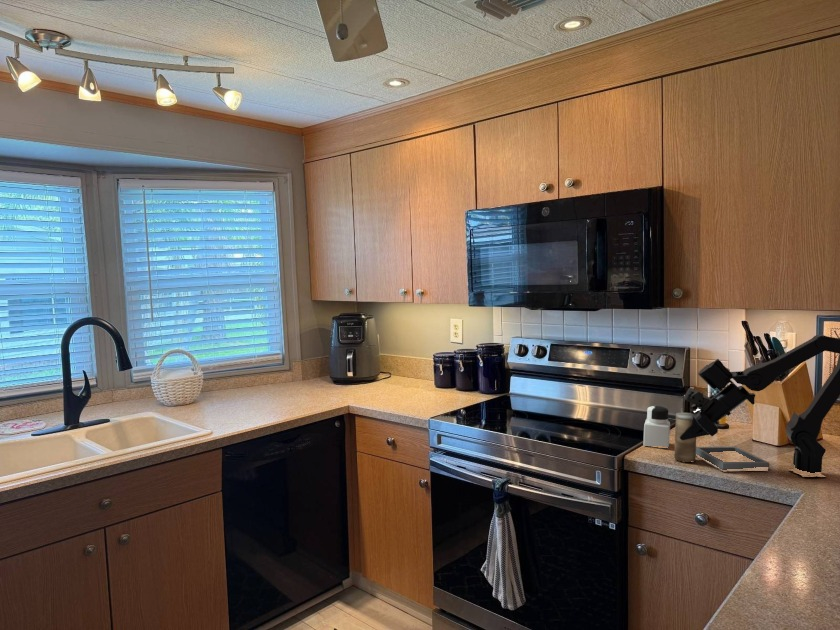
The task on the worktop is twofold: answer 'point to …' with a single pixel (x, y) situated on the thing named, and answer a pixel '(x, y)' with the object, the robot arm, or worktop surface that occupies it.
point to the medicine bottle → (657, 427)
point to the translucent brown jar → (684, 448)
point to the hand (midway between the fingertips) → (680, 436)
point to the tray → (722, 465)
